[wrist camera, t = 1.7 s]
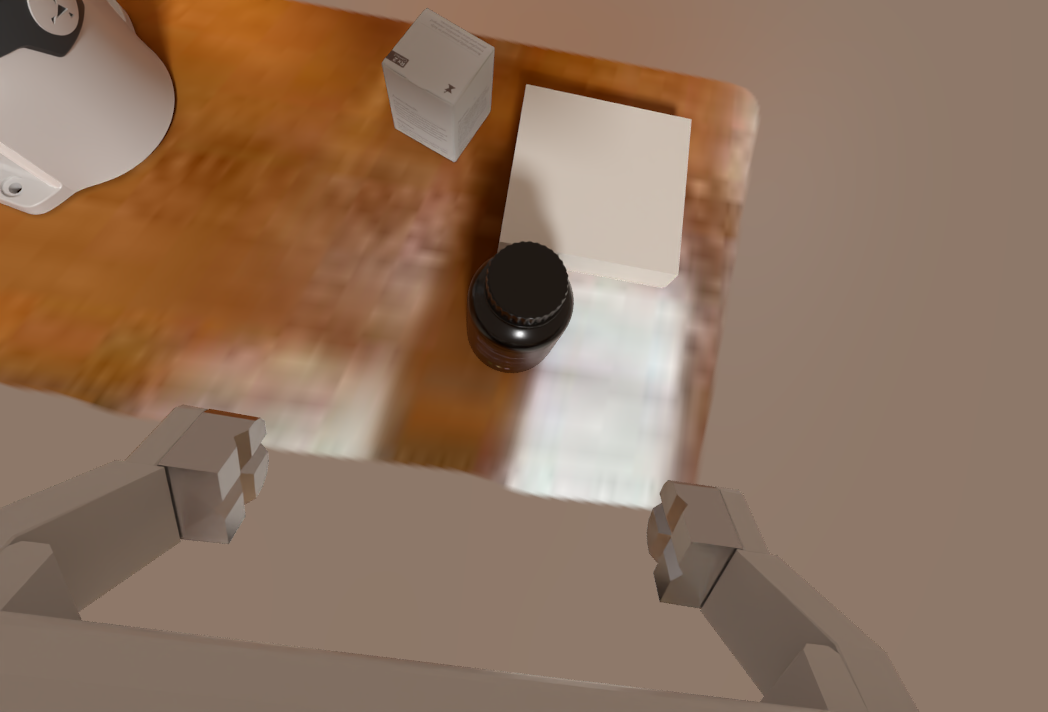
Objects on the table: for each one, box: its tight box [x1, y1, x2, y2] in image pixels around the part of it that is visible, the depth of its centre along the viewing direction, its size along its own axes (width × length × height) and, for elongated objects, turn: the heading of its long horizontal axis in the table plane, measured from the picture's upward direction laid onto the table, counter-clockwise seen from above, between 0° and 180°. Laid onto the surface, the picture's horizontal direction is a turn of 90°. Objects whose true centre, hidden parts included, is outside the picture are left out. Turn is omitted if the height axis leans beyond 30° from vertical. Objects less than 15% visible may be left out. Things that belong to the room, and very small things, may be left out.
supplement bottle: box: [467, 241, 574, 373], centre depth 36 cm, size 7×7×12 cm
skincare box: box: [382, 8, 494, 162], centre depth 42 cm, size 6×6×7 cm
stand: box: [497, 84, 691, 288], centre depth 44 cm, size 14×14×3 cm
